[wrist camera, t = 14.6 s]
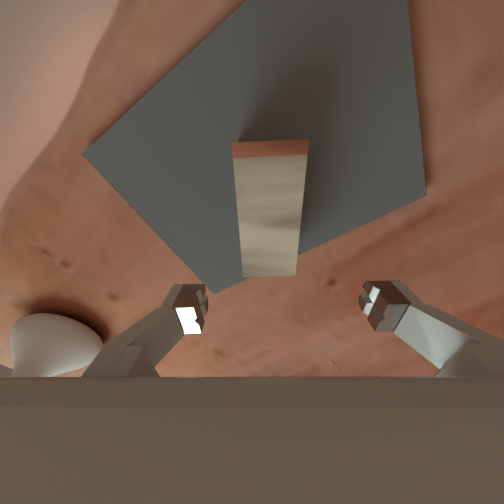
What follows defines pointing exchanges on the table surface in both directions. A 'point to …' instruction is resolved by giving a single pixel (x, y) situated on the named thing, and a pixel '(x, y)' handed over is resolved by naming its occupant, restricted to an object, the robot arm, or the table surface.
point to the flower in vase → (51, 345)
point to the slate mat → (274, 126)
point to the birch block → (269, 204)
